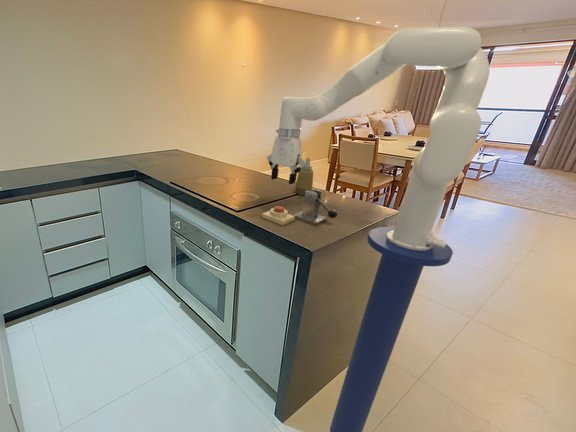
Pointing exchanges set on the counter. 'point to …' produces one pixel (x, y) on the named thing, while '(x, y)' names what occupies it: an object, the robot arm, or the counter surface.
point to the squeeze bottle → (304, 179)
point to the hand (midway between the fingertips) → (282, 180)
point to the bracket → (311, 208)
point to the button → (279, 209)
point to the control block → (278, 217)
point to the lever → (330, 212)
